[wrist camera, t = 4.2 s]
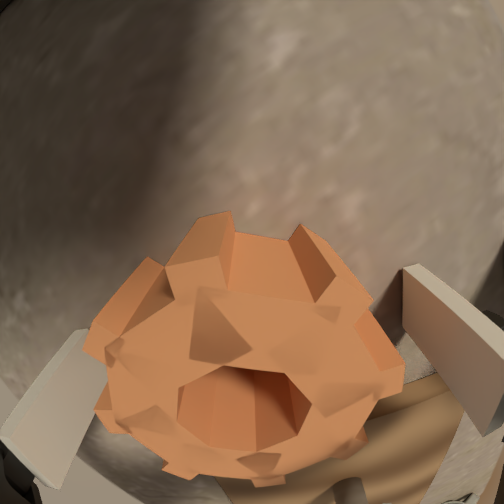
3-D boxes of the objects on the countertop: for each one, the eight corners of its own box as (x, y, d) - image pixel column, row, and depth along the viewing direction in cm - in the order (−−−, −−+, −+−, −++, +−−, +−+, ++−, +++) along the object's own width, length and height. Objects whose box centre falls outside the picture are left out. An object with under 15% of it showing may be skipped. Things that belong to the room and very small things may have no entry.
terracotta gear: (100, 242, 10) (30, 295, 6) (343, 188, 10) (407, 216, 6) (175, 414, 13) (158, 489, 9) (358, 383, 13) (389, 458, 8)
